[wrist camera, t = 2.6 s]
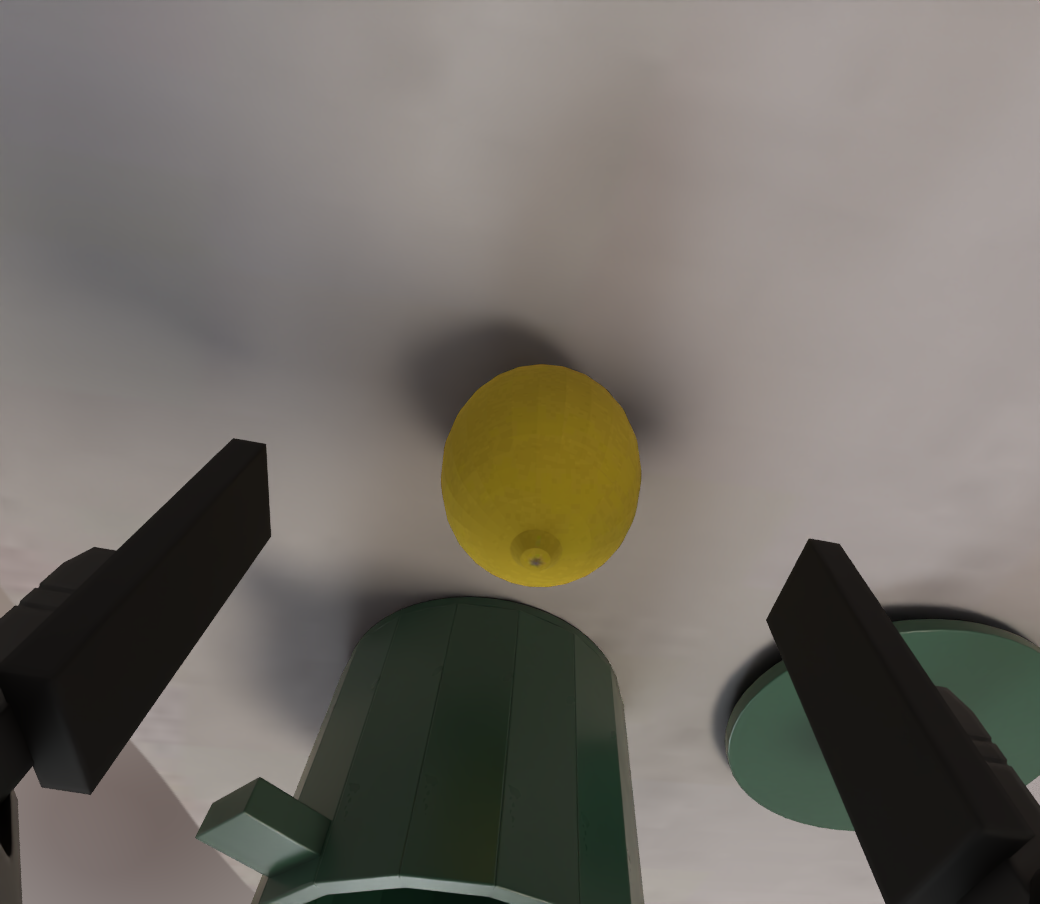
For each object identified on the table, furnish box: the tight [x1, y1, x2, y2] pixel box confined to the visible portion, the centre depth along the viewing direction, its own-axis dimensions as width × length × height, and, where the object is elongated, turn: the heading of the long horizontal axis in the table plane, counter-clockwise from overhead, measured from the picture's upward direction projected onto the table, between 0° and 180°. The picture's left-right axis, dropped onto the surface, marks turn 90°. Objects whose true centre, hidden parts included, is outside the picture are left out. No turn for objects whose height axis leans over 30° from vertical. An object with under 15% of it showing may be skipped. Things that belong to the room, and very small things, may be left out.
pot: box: [195, 597, 644, 904], centre depth 23 cm, size 13×18×10 cm
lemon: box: [441, 364, 641, 587], centre depth 16 cm, size 6×6×8 cm
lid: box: [725, 619, 1040, 831], centre depth 23 cm, size 14×14×9 cm
